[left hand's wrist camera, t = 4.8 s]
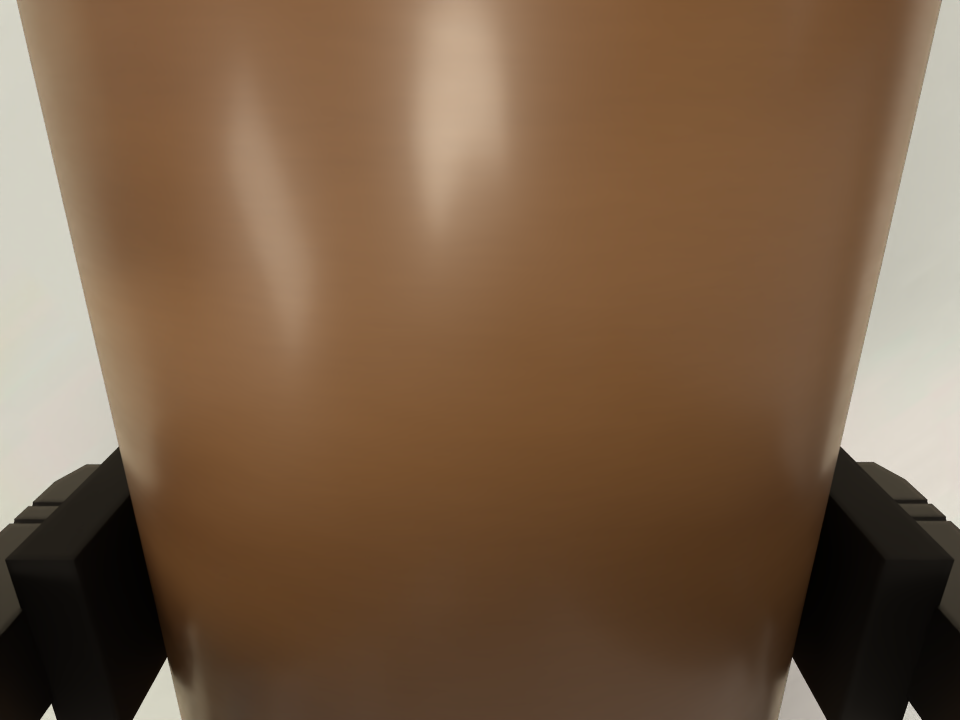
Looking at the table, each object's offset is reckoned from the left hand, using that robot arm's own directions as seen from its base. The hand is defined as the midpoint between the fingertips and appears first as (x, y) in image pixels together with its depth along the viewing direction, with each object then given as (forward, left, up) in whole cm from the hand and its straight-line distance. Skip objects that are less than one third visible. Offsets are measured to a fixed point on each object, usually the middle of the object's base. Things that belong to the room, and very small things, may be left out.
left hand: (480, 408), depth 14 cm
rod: (+9, +2, -1) cm, 9 cm away
